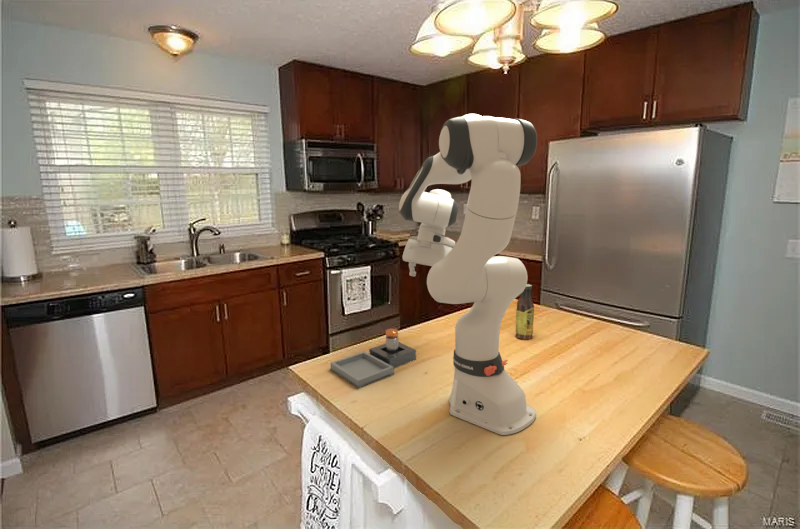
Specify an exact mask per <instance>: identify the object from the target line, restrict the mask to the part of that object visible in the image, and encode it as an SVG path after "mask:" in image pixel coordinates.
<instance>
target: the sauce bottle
mask: <svg viewBox="0 0 800 529" xmlns="http://www.w3.org/2000/svg"><path fill="white" fill-rule="evenodd" d="M532 289H533V285H532V284H528V283H527V285H526V287H525V289H524V291H523V292H522V293H521V294H520V295H519V298H518V300H517V302H516V310H515V329H514V330H515V337H516V338H518V339H520V340H531V339H532V338H533V334H534V320H535V319H534V318H535V305H534V302H533V298H532Z"/></svg>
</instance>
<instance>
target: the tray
mask: <svg viewBox="0 0 800 529" xmlns="http://www.w3.org/2000/svg"><path fill="white" fill-rule="evenodd" d="M329 365H330V370H331V371H332V372H333V373H334V374H336V375H338V376H339V377H340V378H342V379H344V380H345V381H346V382H348V383H349V384H351V385H352V386H354V387H355V388H357V389H359V390H360V389H361V388H364V387H367V386H369V385H372V384H375V383H377V382H379V381H381V380H384V379H386V378H388V377H392V376H394V375H395V368H394V367H393V366H391V365H389V364H387V363H385V362H384V361H382V360H380V359H378V358H376V357H374V356H372V355H371V354H370V353H369V352H367V351H365V350H364V351H361V352H358V353H355V354H352V355H348V356H346V357H343V358H340V359H337V360H334V361H331V362H330V364H329Z"/></svg>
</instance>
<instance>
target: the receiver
mask: <svg viewBox="0 0 800 529" xmlns="http://www.w3.org/2000/svg"><path fill="white" fill-rule="evenodd" d="M368 350H369V352H368V353H369V354H371V355H372V356H374V357H376V358H378V359H380V360H382V361H384V362H385V363H387V364H389V365H391V366H393V367H394V369H395V367H396V368H398V367H400V365H401V366H403V365H405V364H408V363H410V361H411V362H414V361H416V360H417V349H416V348H413V347H412V346H411V347H410V346H408V345H406V344H404V343H402V342H401V341H398V351H399V352H397V353H394V354H389V353H387V352H386V342H385V343H383V344H380V345H377V346H374V347H370V348H369V349H368ZM413 360H414V361H413Z"/></svg>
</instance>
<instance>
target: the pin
mask: <svg viewBox="0 0 800 529" xmlns="http://www.w3.org/2000/svg"><path fill="white" fill-rule="evenodd" d="M398 342H399V330H398V329H397V328H388V329H385V343H386V352H387V353H389V354H394V353H397V352H399V351H398Z"/></svg>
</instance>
